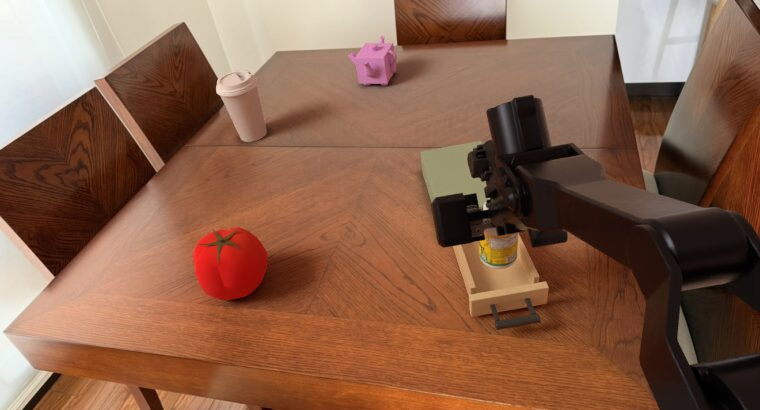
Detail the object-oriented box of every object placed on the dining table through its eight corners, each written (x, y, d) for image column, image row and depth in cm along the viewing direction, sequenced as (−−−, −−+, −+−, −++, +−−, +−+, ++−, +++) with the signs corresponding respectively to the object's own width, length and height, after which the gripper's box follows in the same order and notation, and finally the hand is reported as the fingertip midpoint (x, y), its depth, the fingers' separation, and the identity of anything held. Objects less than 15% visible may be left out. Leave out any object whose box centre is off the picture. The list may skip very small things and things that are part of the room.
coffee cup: (271, 141, 119) (253, 83, 109) (232, 148, 119) (209, 91, 109) (274, 121, 126) (257, 65, 117) (236, 127, 126) (216, 72, 117)
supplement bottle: (518, 270, 70) (521, 218, 64) (479, 270, 71) (478, 219, 65) (515, 243, 74) (518, 192, 68) (478, 243, 75) (478, 193, 69)
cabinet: (511, 224, 86) (512, 201, 83) (441, 236, 86) (440, 213, 83) (481, 162, 101) (481, 140, 98) (422, 172, 101) (420, 151, 98)
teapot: (363, 65, 145) (357, 31, 139) (407, 65, 141) (403, 30, 135) (342, 95, 132) (335, 60, 126) (390, 96, 128) (385, 59, 122)
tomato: (192, 295, 84) (164, 248, 77) (242, 251, 90) (221, 204, 83) (240, 324, 78) (215, 275, 70) (289, 274, 84) (272, 226, 77)
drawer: (557, 326, 69) (560, 309, 66) (478, 340, 69) (478, 324, 66) (507, 221, 86) (508, 205, 84) (444, 232, 86) (443, 216, 84)
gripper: (595, 117, 55) (550, 149, 71) (427, 146, 55) (419, 171, 71) (617, 217, 54) (566, 227, 69) (446, 246, 54) (433, 249, 69)
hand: (496, 216), depth 70 cm, fingers closed on supplement bottle, 5 cm apart
